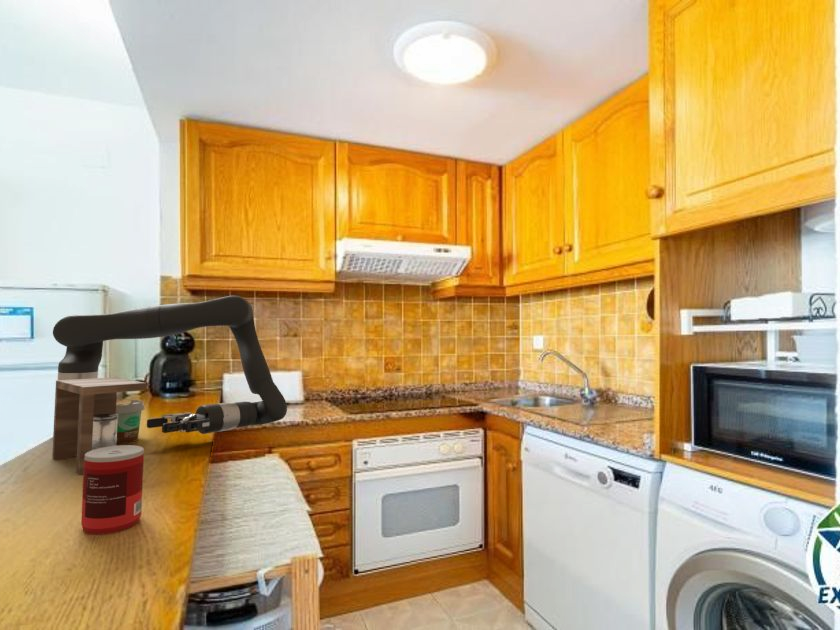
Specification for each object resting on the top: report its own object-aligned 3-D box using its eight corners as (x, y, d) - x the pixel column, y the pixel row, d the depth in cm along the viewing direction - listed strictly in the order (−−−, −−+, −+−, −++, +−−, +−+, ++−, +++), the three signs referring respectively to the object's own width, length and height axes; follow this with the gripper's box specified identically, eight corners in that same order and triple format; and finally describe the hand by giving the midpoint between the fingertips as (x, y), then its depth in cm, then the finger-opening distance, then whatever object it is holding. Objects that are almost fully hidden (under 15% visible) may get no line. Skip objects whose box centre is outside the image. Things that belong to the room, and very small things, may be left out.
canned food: (130, 510, 76) (132, 442, 77) (149, 523, 71) (152, 450, 72) (73, 524, 70) (76, 451, 71) (90, 540, 65) (94, 460, 66)
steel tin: (85, 460, 105) (87, 415, 106) (111, 455, 109) (113, 412, 110) (93, 464, 102) (95, 418, 102) (119, 459, 106) (121, 415, 106)
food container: (124, 446, 118) (125, 406, 118) (100, 446, 118) (101, 406, 118) (153, 436, 130) (154, 399, 131) (131, 435, 130) (132, 399, 131)
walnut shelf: (52, 458, 106) (55, 380, 106) (112, 449, 115) (115, 377, 116) (79, 474, 95) (83, 387, 95) (143, 462, 104) (146, 382, 105)
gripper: (205, 401, 132) (143, 407, 119) (232, 406, 123) (168, 414, 110) (204, 427, 131) (141, 437, 119) (231, 435, 123) (167, 446, 110)
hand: (154, 426), depth 114 cm, fingers open, 8 cm apart
